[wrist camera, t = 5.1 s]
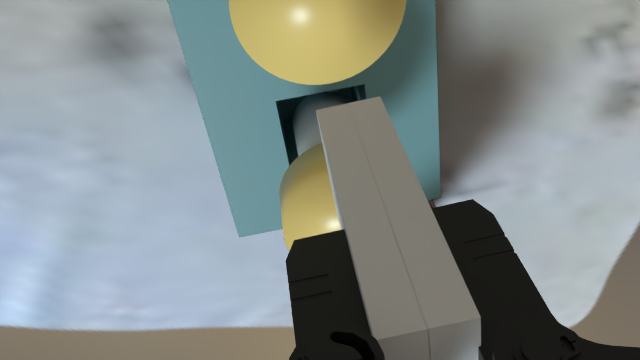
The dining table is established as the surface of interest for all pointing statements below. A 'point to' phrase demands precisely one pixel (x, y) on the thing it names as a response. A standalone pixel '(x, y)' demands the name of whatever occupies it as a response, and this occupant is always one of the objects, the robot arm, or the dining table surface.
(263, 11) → the plunger mid
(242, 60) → the mount
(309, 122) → the plunger
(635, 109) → the dining table surface
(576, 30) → the dining table surface
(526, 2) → the dining table surface
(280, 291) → the dining table surface
